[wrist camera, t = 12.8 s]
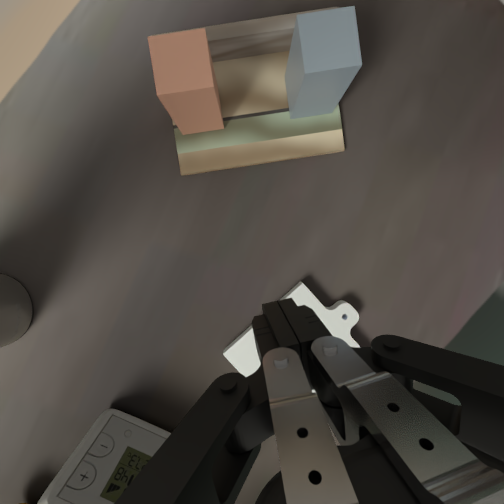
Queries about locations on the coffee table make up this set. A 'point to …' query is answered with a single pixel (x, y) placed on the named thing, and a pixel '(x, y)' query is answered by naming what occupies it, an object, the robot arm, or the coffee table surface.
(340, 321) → the mounting plate
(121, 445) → the digital clock
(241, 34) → the wooden tray
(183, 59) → the reddish brown block
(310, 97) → the grey blue rectangular block
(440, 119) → the coffee table surface
